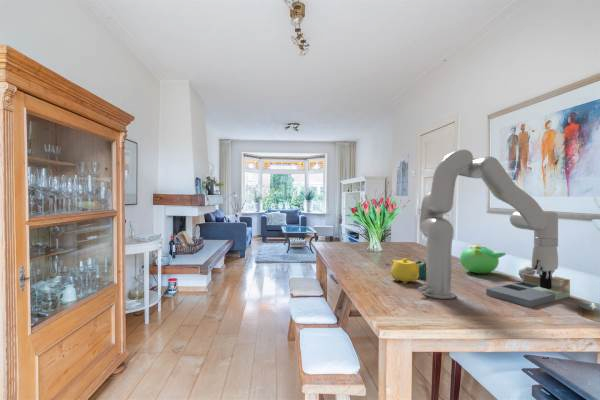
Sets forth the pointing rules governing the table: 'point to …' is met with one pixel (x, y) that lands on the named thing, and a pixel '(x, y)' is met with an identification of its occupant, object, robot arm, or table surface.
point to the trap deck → (526, 292)
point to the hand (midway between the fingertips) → (545, 288)
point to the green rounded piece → (480, 259)
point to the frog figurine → (526, 272)
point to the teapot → (405, 270)
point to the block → (560, 284)
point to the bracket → (421, 269)
